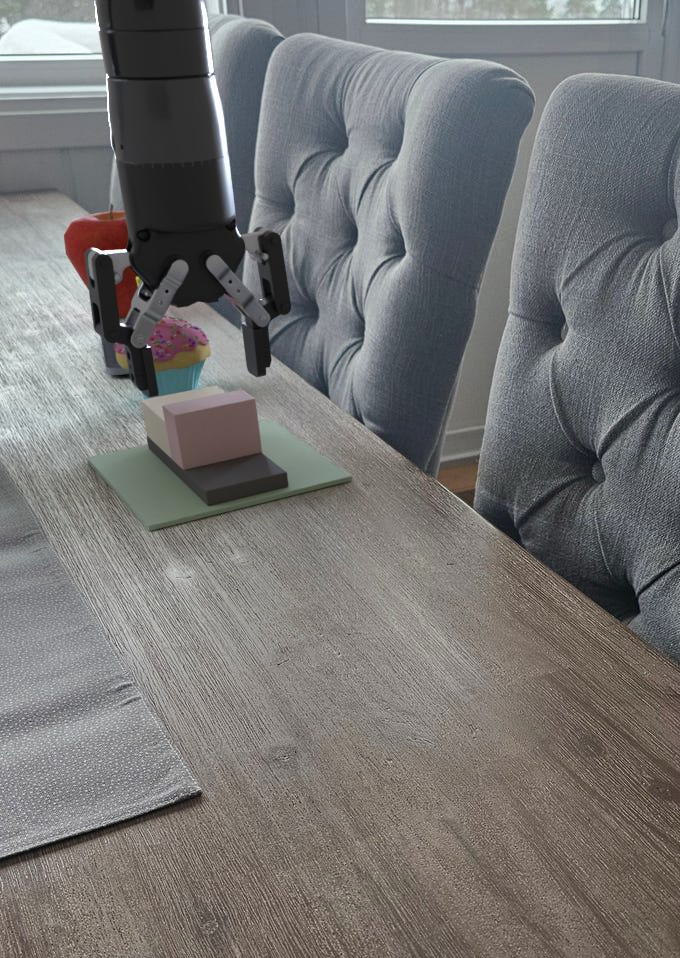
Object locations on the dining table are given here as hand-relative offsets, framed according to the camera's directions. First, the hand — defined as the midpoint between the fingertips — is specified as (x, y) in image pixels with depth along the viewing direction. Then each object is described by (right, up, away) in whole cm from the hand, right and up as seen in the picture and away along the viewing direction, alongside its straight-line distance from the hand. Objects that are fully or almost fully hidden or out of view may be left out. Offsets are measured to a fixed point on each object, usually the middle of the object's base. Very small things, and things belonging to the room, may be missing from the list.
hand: (204, 384), depth 85 cm
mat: (0, -6, +4) cm, 7 cm away
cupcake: (-8, +4, +20) cm, 22 cm away
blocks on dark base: (0, -6, +3) cm, 7 cm away
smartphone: (-14, +11, +31) cm, 36 cm away
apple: (-20, +20, +45) cm, 53 cm away
